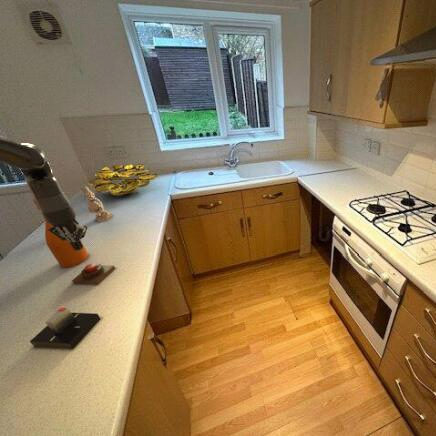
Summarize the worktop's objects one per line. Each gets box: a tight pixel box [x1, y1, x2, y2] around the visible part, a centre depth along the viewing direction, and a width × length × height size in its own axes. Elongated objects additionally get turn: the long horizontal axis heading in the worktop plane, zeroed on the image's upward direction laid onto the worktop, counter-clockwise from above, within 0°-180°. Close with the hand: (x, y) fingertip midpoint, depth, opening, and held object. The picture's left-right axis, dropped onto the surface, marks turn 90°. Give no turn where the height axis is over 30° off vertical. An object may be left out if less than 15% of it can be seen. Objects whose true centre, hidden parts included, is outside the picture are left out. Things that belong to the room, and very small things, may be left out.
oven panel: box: [29, 312, 101, 350], centre depth 71 cm, size 12×10×3 cm
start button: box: [83, 263, 97, 273], centre depth 92 cm, size 4×4×2 cm
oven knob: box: [44, 307, 75, 334], centre depth 69 cm, size 5×2×5 cm, turn 175°
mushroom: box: [86, 163, 158, 196], centre depth 170 cm, size 41×45×17 cm
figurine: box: [81, 186, 113, 223], centre depth 132 cm, size 9×8×20 cm
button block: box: [71, 263, 116, 285], centre depth 93 cm, size 10×9×4 cm
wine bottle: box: [32, 198, 89, 268], centre depth 96 cm, size 10×10×30 cm
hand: (79, 249), depth 87 cm, fingers closed
